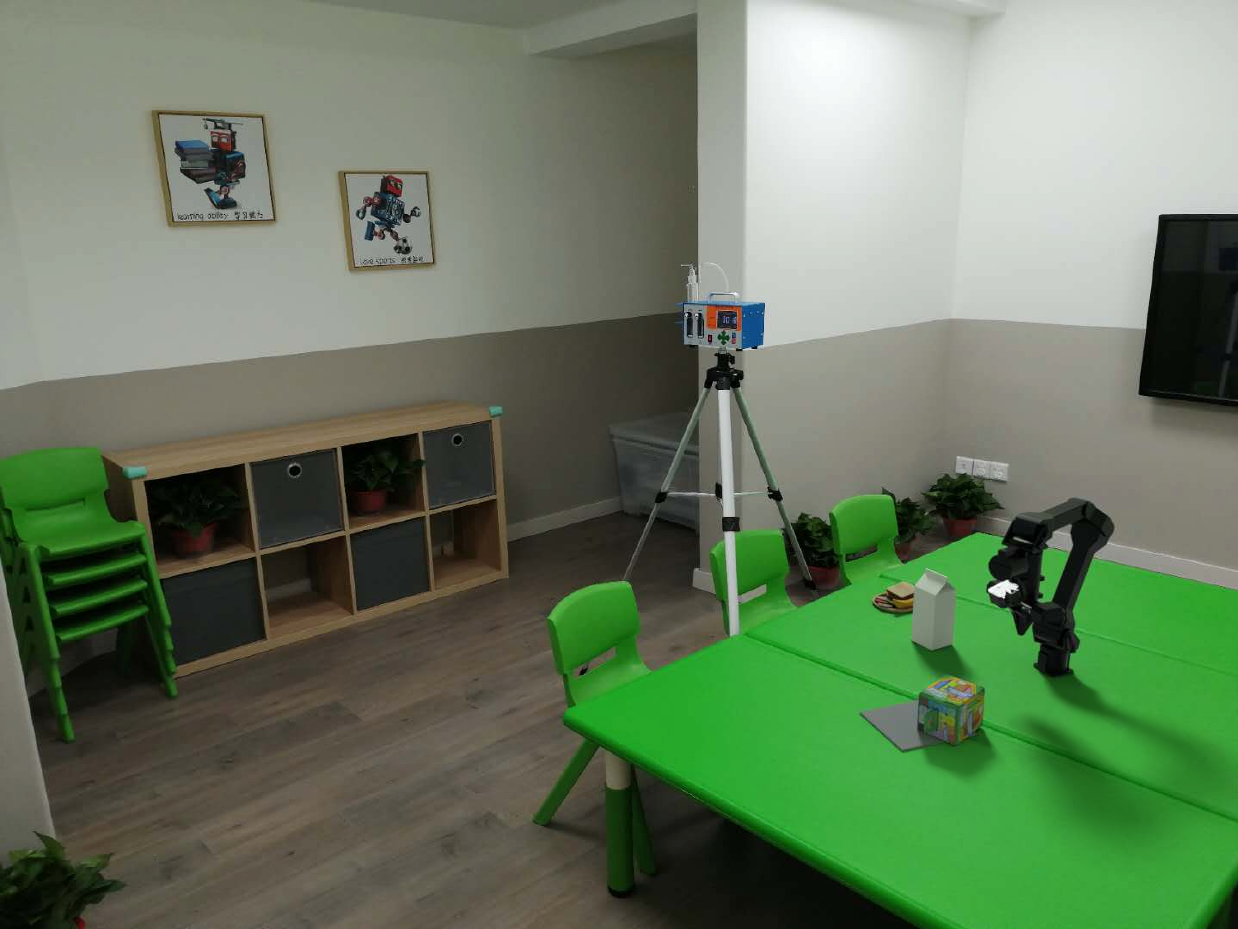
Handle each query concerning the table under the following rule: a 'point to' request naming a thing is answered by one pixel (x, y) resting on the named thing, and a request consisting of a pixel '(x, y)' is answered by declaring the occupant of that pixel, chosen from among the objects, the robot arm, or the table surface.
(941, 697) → the chalk box
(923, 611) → the milk carton
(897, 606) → the toy sandwich meal
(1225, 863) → the table surface
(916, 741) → the topple mat
